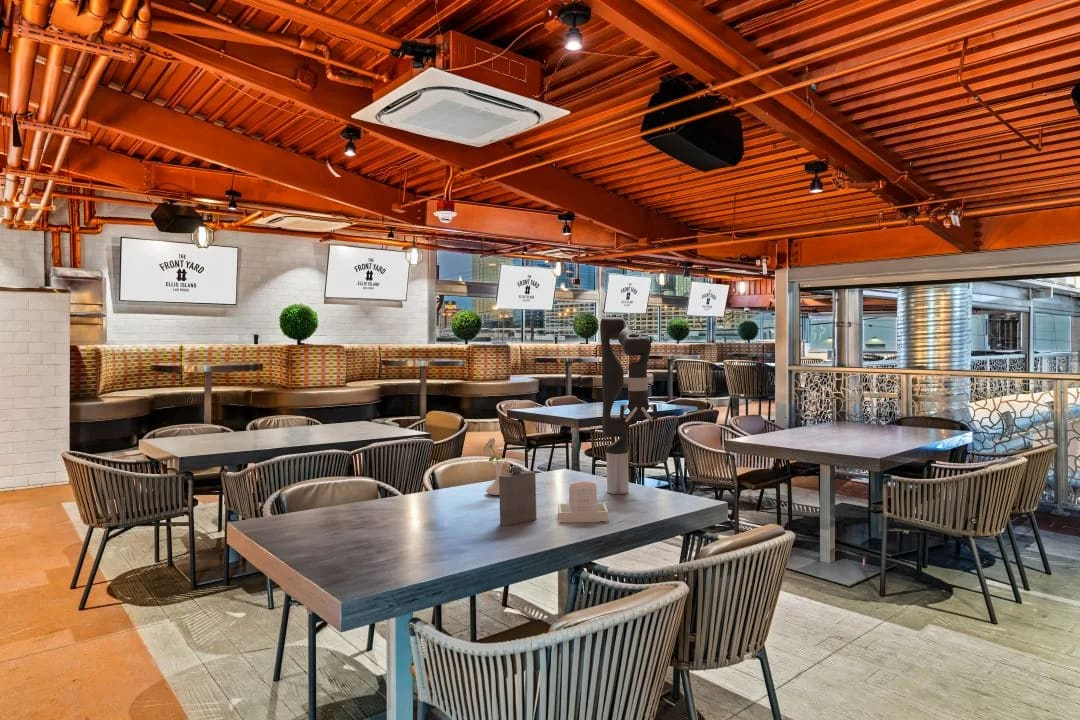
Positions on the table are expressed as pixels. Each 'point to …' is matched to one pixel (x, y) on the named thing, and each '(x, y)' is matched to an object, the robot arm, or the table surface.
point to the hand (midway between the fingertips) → (638, 431)
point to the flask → (517, 496)
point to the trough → (583, 514)
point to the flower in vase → (494, 487)
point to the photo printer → (582, 497)
